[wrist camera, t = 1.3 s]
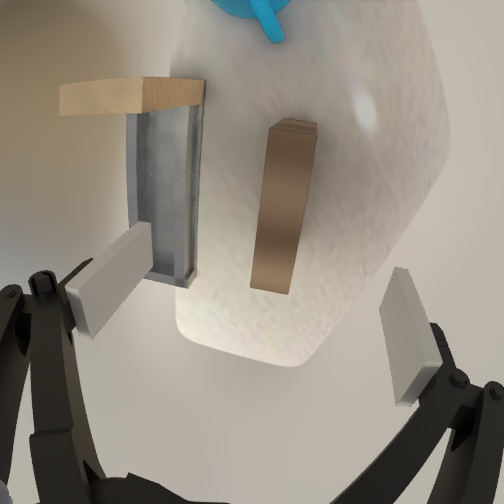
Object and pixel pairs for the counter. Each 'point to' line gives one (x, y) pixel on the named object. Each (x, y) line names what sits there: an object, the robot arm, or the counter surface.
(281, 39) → the mug
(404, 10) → the counter surface
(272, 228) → the door panel
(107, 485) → the robot arm
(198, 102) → the door track
